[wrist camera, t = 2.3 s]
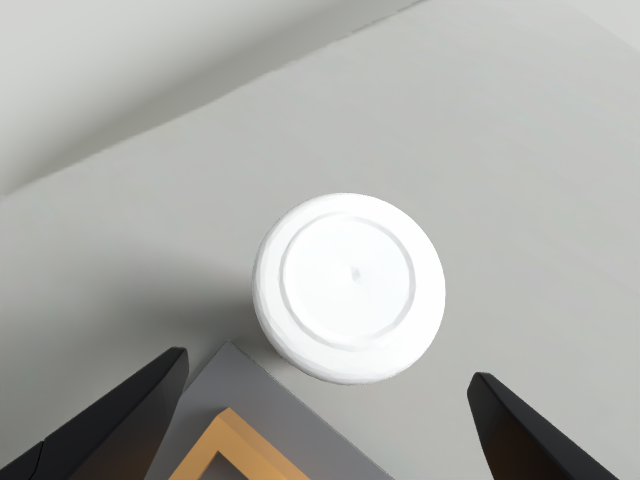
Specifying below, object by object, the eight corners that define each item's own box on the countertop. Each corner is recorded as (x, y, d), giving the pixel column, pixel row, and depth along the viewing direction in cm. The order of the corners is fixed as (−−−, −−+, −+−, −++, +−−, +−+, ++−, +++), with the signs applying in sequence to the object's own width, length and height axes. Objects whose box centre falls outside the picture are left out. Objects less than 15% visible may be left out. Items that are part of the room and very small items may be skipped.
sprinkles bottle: (347, 374, 18) (445, 415, 6) (275, 356, 18) (216, 358, 6) (360, 301, 20) (458, 208, 7) (293, 285, 20) (279, 167, 7)
